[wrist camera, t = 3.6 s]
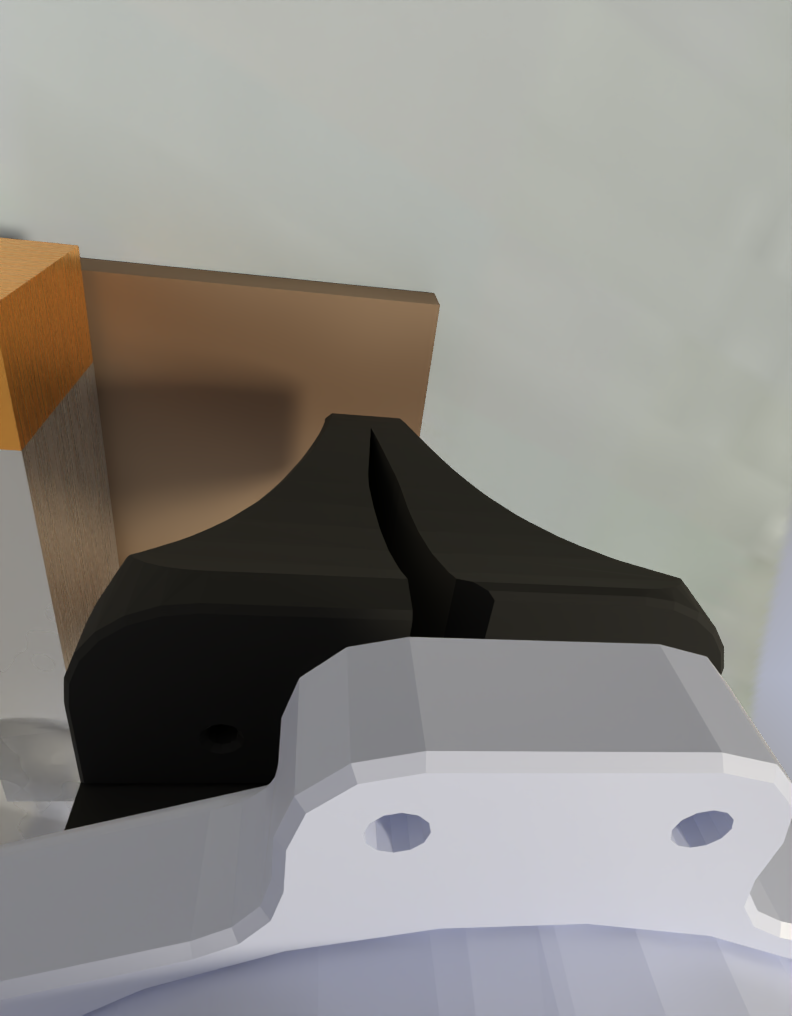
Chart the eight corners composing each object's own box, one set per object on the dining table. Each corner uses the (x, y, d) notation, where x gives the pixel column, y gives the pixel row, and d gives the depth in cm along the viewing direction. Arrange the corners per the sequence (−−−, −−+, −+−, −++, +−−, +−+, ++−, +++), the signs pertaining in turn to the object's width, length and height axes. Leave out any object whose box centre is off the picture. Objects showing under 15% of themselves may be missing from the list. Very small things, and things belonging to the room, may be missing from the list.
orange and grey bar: (207, 741, 18) (185, 867, 15) (7, 740, 17) (-56, 872, 14) (185, 256, 11) (137, 319, 8) (-143, 222, 11) (-315, 278, 8)
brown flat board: (365, 752, 21) (367, 780, 20) (-297, 750, 18) (-327, 782, 17) (434, 293, 13) (441, 308, 12) (-677, 182, 11) (-763, 191, 10)
